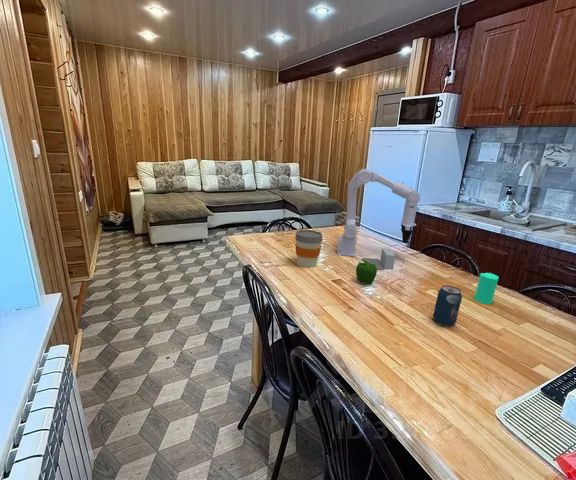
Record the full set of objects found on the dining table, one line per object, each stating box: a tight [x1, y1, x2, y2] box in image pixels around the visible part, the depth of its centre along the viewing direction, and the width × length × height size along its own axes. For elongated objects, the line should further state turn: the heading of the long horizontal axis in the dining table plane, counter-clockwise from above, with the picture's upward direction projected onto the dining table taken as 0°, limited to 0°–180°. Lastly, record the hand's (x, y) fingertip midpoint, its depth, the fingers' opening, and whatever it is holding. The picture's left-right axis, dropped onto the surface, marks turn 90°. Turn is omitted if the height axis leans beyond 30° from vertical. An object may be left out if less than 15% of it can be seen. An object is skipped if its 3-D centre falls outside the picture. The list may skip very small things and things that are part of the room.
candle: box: [474, 271, 499, 305], centre depth 119 cm, size 6×6×12 cm
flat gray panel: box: [362, 257, 385, 271], centre depth 152 cm, size 8×14×1 cm, turn 175°
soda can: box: [432, 284, 463, 327], centre depth 102 cm, size 7×7×12 cm
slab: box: [379, 248, 396, 271], centre depth 150 cm, size 4×10×7 cm, turn 175°
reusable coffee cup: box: [294, 229, 323, 269], centre depth 145 cm, size 13×13×15 cm
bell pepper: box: [355, 259, 378, 285], centre depth 130 cm, size 8×8×10 cm
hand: (404, 240), depth 158 cm, fingers open, 7 cm apart
